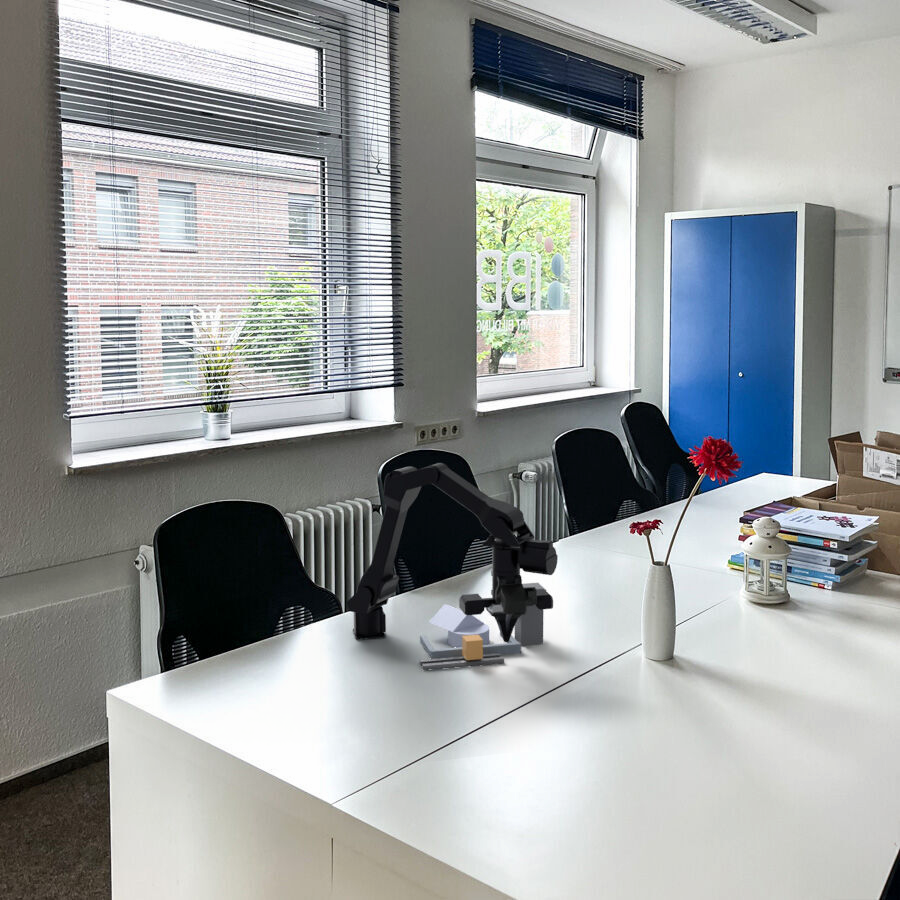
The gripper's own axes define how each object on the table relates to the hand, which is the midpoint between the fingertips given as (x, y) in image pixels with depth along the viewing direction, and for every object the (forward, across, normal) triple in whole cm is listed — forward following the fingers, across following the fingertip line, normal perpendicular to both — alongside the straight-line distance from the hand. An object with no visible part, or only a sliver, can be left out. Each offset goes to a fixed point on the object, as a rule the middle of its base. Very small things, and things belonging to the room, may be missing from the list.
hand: (506, 641), depth 207 cm
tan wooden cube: (+4, -7, 0) cm, 8 cm away
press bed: (+4, -2, +9) cm, 10 cm away
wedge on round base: (+4, -6, +14) cm, 16 cm away
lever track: (+4, -9, 0) cm, 10 cm away
